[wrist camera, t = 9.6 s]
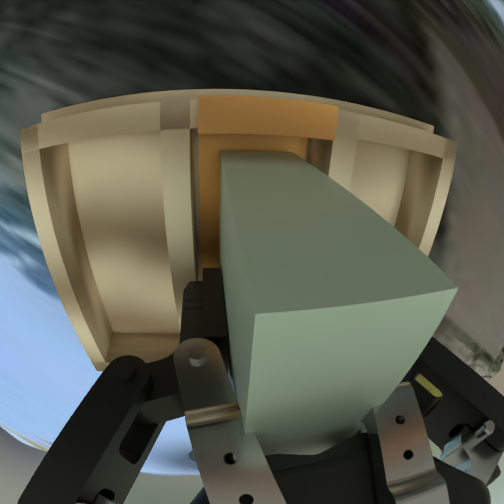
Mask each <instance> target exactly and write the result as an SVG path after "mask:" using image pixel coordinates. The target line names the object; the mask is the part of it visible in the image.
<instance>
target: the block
mask: <svg viewBox="0 0 504 504" xmlns="http://www.w3.org/2000/svg"><path fill="white" fill-rule="evenodd" d="M219 268H221V271H222V283H223V293H224V304H225V314H226V324H227V333H228V374H229V379H230V382H231V385H232V387H233V390H234V393H235V395H236V398H237V401H238V404H239V406H240V409H241V414H242V420H243V426H244V433H250V432H254V433H255V435H256V437H257V440H258V442H259V444H260V447H261V449H262V451H263V454H264V455H272V454H297V455H316V454H319V453H321V452H323V451H325V450H327V449H329V448H331V447H333V446H334V445H336V444H338V443H340V442H342V441H343V440H345V439H347V438H350V437H353V436H354V435H355V434H356V433H357V432H358V431H359V430H360V429H361V427H362V426H363V425H364V424H363V423H362V422H360V421H361V420H362V419H363V418H364V417H365V416H366V415H367V413H368V412H369V411H370V410H371V409H372V407H375V406H378V405H381V404H383V403H384V402H385V401H386V399H387V398H388V397H389V396H390V395H391V393H392V392H393V391H394V390H395V388H396V387H397V386H398V384H399V383H400V382H401V380H402V379H403V378H404V376H405V375H406V374H407V372H408V371H409V370H410V368H411V367H412V365H413V364H414V363H415V361H416V360H417V358H418V357H419V355H420V354H421V352H422V351H423V349H424V348H425V346H426V345H427V343H428V342H429V340H430V338H431V337H432V335H433V333H434V332H435V330H436V329H437V327H438V325H439V323H440V322H441V320H442V318H443V316H444V315H445V313H446V311H447V309H448V307H449V305H450V304H451V302H452V300H453V298H454V296H455V294H456V292H457V290H458V287H457V286H456V284H455V283H454V282H453V281H452V280H451V279H450V278H449V277H448V276H447V275H446V274H445V273H444V272H443V271H442V270H441V269H440V268H439V267H438V266H437V265H435V264H434V263H433V262H432V261H431V260H430V259H429V258H428V257H427V256H426V255H425V254H424V253H423V252H422V251H421V250H419V249H418V248H417V247H416V246H415V245H414V244H413V243H412V242H411V241H409V240H408V239H407V238H406V237H405V236H404V235H403V234H401V233H400V232H399V231H398V230H397V229H396V228H394V227H393V226H392V225H391V224H390V223H389V222H387V221H386V220H385V219H384V218H382V217H381V216H380V215H379V214H378V213H376V212H375V211H374V210H373V209H371V208H370V207H369V206H367V205H366V204H365V203H364V202H362V201H361V200H360V199H358V198H357V197H356V196H355V195H353V194H352V193H351V192H349V191H348V190H347V189H345V188H344V187H342V186H341V185H340V184H338V183H337V182H336V181H334V180H333V179H331V178H330V177H329V176H327V175H326V174H324V173H323V172H321V171H320V170H319V169H317V168H316V167H314V166H313V165H311V164H310V163H308V162H307V161H305V160H304V159H302V158H301V157H299V156H298V155H296V154H295V153H290V152H272V151H240V150H220V174H219Z"/></svg>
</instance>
